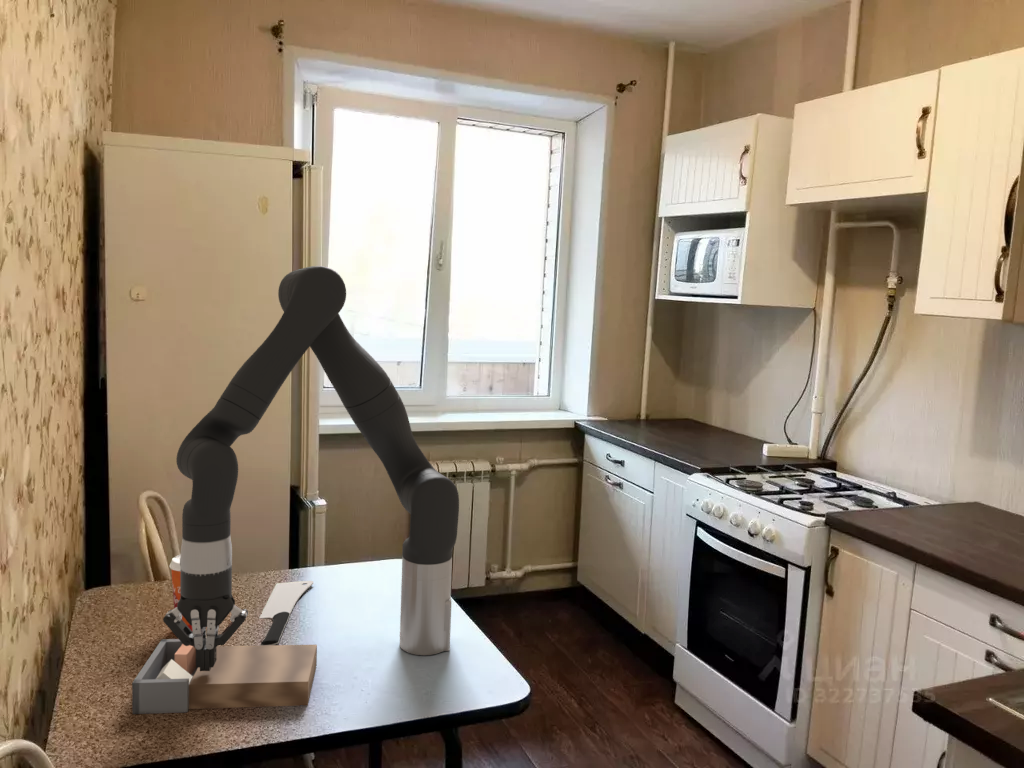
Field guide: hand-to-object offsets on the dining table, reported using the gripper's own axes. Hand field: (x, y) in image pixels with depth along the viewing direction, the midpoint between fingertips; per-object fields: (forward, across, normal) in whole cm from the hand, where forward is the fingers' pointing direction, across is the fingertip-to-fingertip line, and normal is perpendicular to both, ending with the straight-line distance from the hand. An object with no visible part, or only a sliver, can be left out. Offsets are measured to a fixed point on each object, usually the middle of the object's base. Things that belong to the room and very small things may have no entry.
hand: (206, 668), depth 124 cm
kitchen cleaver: (+6, -6, -33) cm, 34 cm away
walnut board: (+5, -7, -3) cm, 9 cm away
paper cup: (+5, +9, -26) cm, 28 cm away
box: (+5, +6, -3) cm, 8 cm away
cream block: (+2, +5, -1) cm, 5 cm away
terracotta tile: (+2, +4, -7) cm, 9 cm away
